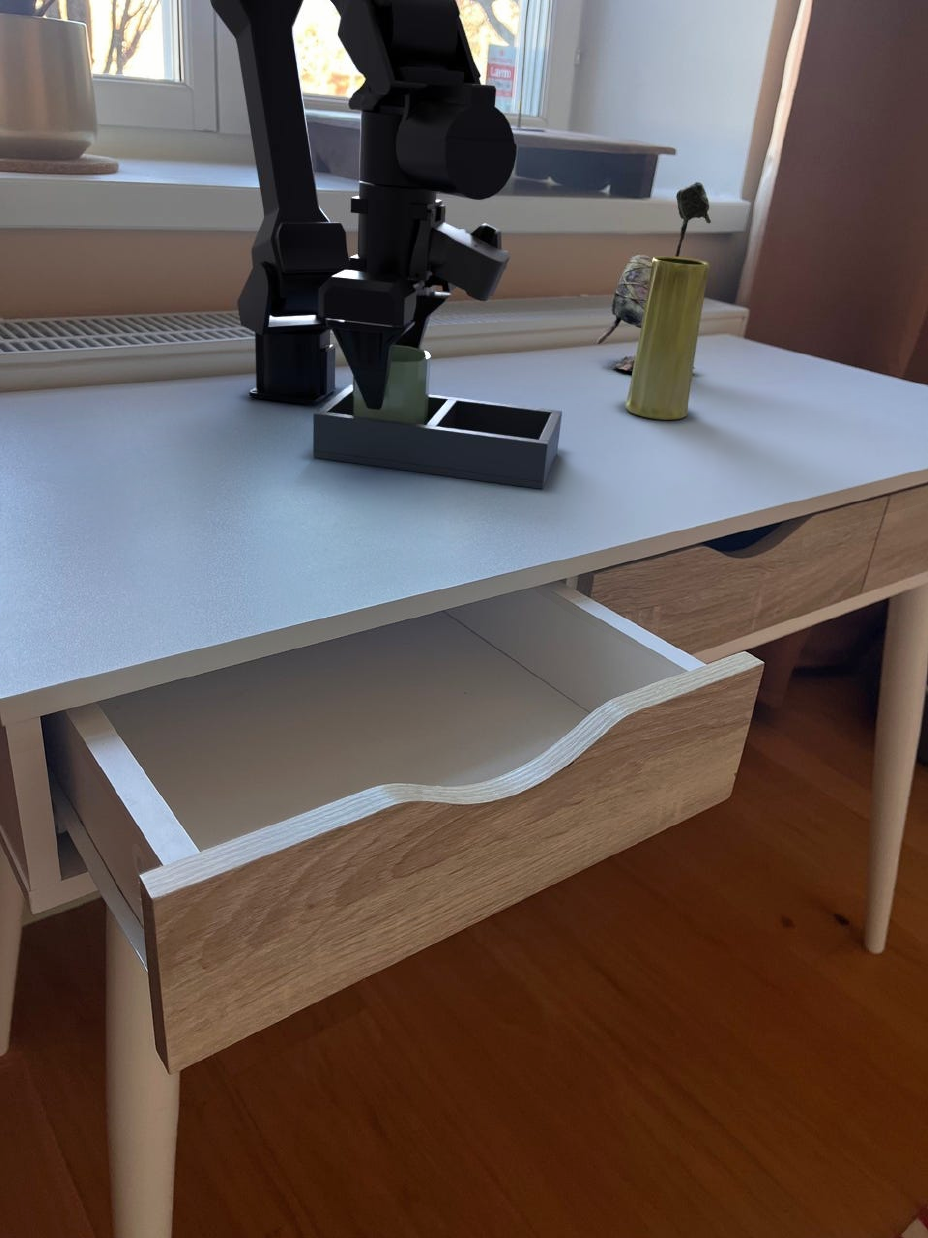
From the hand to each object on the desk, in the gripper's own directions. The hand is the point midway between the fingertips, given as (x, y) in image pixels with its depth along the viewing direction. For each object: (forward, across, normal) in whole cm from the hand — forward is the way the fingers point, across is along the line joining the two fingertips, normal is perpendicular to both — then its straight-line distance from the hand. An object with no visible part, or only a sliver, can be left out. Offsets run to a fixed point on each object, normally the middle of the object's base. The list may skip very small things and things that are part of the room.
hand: (390, 394), depth 81 cm
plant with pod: (+5, +40, -19) cm, 45 cm away
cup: (+4, 0, 0) cm, 4 cm away
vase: (+5, +22, -21) cm, 31 cm away
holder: (+4, 0, -4) cm, 6 cm away
